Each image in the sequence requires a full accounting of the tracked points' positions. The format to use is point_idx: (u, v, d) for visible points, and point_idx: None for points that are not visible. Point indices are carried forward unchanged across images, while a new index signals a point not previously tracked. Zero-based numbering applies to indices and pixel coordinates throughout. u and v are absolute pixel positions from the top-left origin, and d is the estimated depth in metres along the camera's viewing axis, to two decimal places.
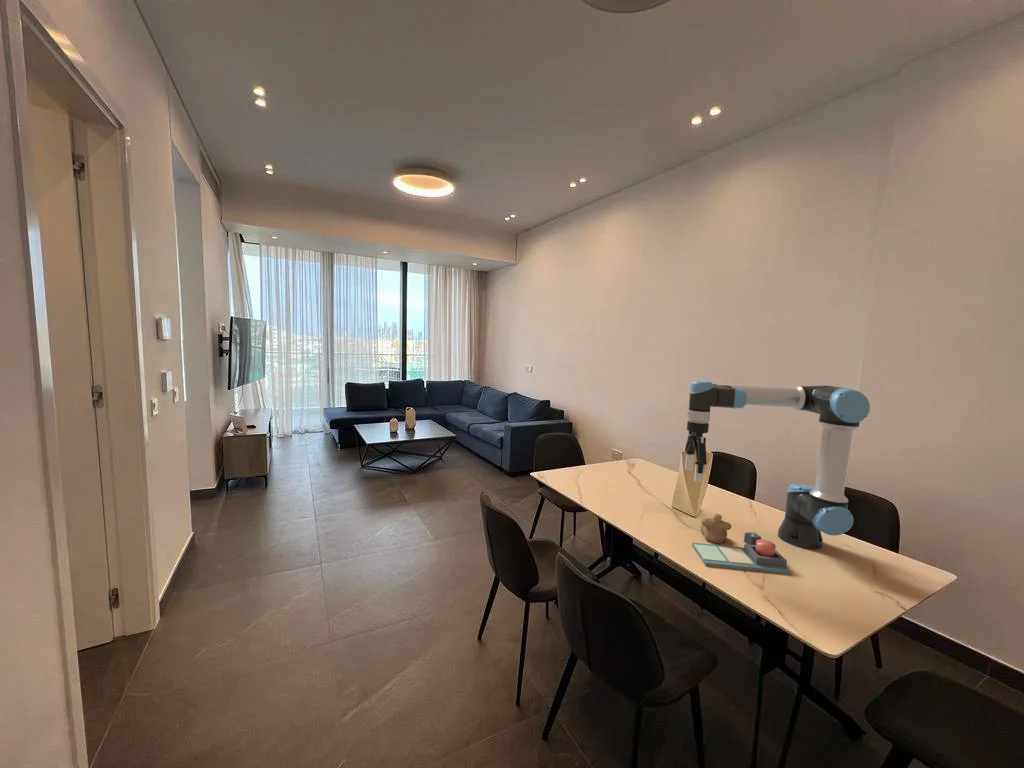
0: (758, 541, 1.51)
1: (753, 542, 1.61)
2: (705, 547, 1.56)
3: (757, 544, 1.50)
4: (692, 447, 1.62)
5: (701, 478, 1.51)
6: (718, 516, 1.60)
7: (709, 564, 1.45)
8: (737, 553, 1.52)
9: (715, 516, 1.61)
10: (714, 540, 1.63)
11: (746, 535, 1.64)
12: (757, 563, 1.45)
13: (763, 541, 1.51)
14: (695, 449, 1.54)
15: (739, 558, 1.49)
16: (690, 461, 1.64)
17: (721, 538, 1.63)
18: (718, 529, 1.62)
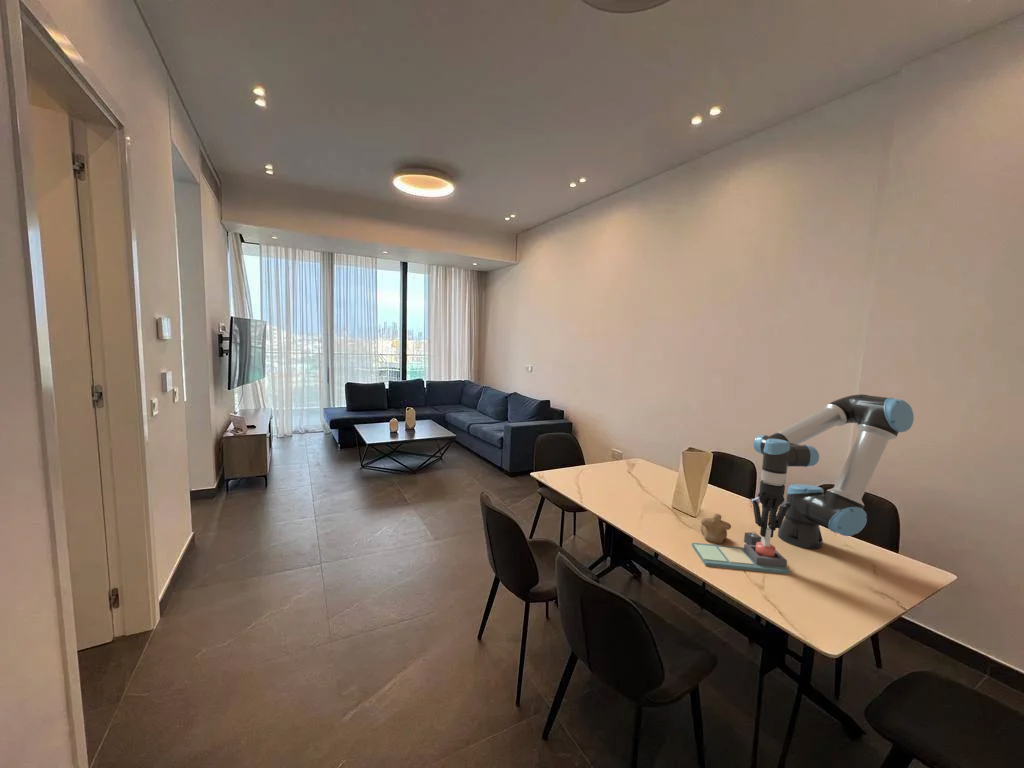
0: (758, 543, 1.51)
1: (753, 542, 1.61)
2: (705, 547, 1.56)
3: (757, 546, 1.50)
4: (770, 515, 1.48)
5: (764, 542, 1.49)
6: (718, 516, 1.60)
7: (709, 564, 1.45)
8: (737, 553, 1.52)
9: (715, 516, 1.61)
10: (714, 540, 1.63)
11: (746, 535, 1.64)
12: (757, 563, 1.45)
13: None
14: None
15: (739, 558, 1.49)
16: None
17: (721, 538, 1.63)
18: (717, 528, 1.62)
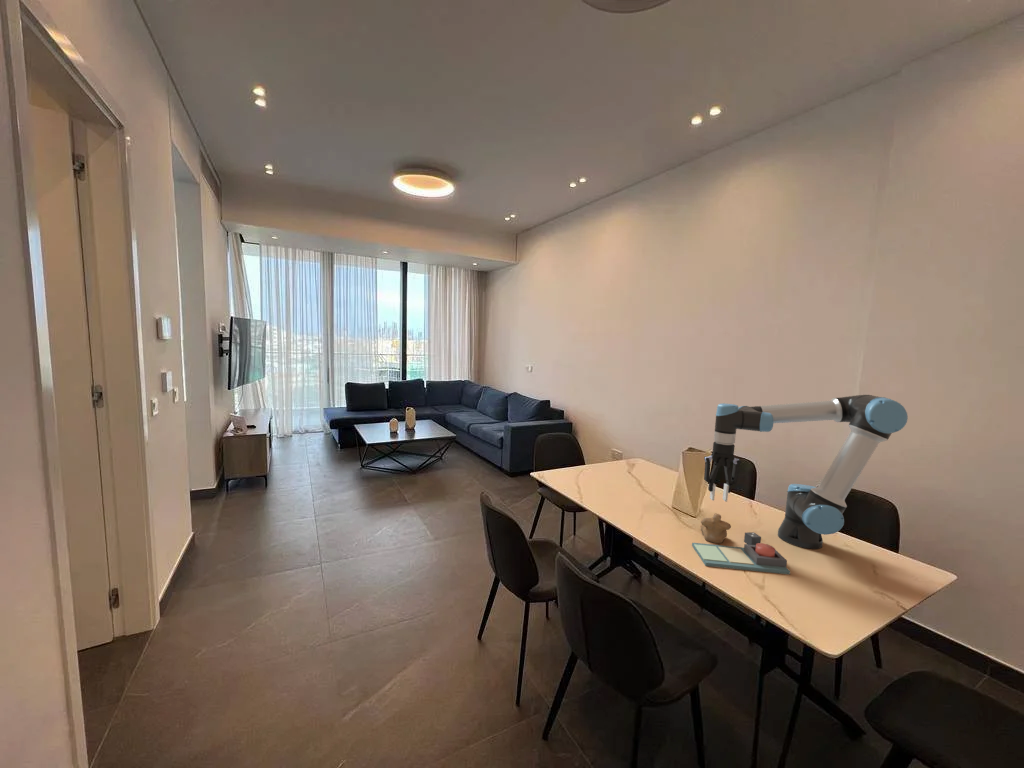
0: (758, 545, 1.51)
1: (753, 542, 1.61)
2: (705, 547, 1.56)
3: (757, 548, 1.50)
4: (726, 473, 1.63)
5: (712, 496, 1.64)
6: (717, 516, 1.60)
7: (709, 564, 1.45)
8: (737, 553, 1.52)
9: (714, 516, 1.61)
10: (713, 540, 1.63)
11: (746, 535, 1.64)
12: (757, 563, 1.45)
13: (763, 545, 1.51)
14: None
15: (739, 558, 1.49)
16: (725, 491, 1.64)
17: (720, 538, 1.63)
18: (717, 528, 1.62)
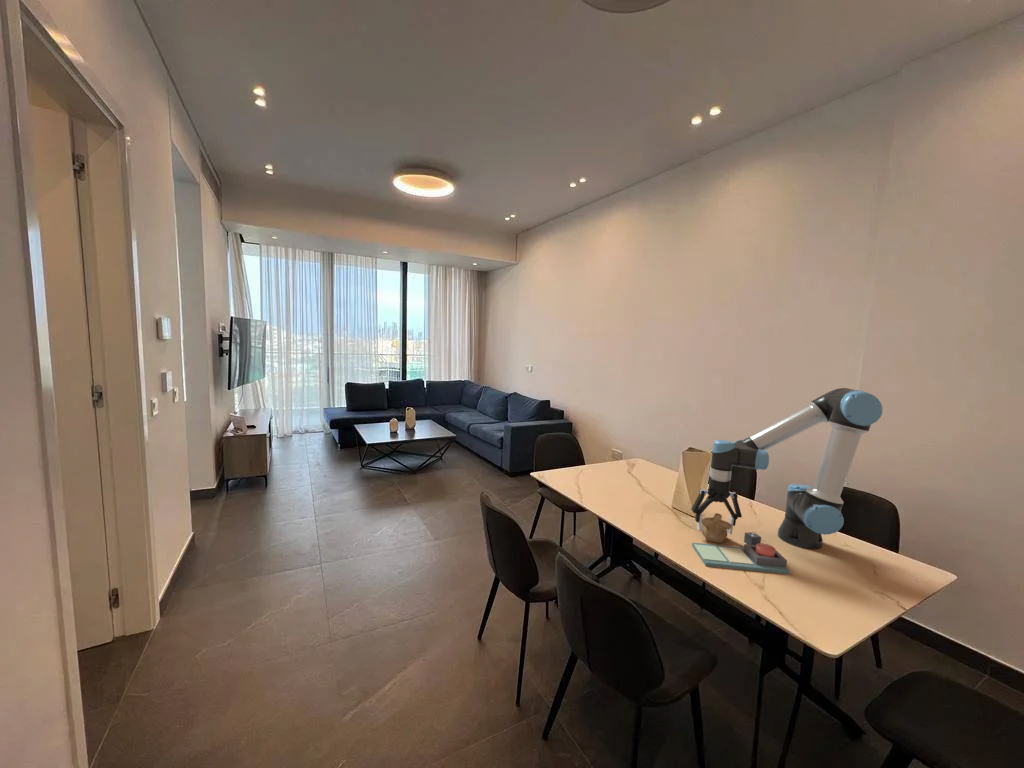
0: (758, 545, 1.51)
1: (753, 542, 1.61)
2: (705, 547, 1.56)
3: (757, 548, 1.50)
4: (727, 507, 1.64)
5: (698, 527, 1.66)
6: (718, 516, 1.60)
7: (709, 564, 1.45)
8: (737, 553, 1.52)
9: (715, 516, 1.61)
10: (714, 540, 1.63)
11: (746, 535, 1.64)
12: (757, 563, 1.45)
13: (763, 545, 1.51)
14: None
15: (739, 558, 1.49)
16: None
17: (721, 538, 1.63)
18: (718, 528, 1.62)
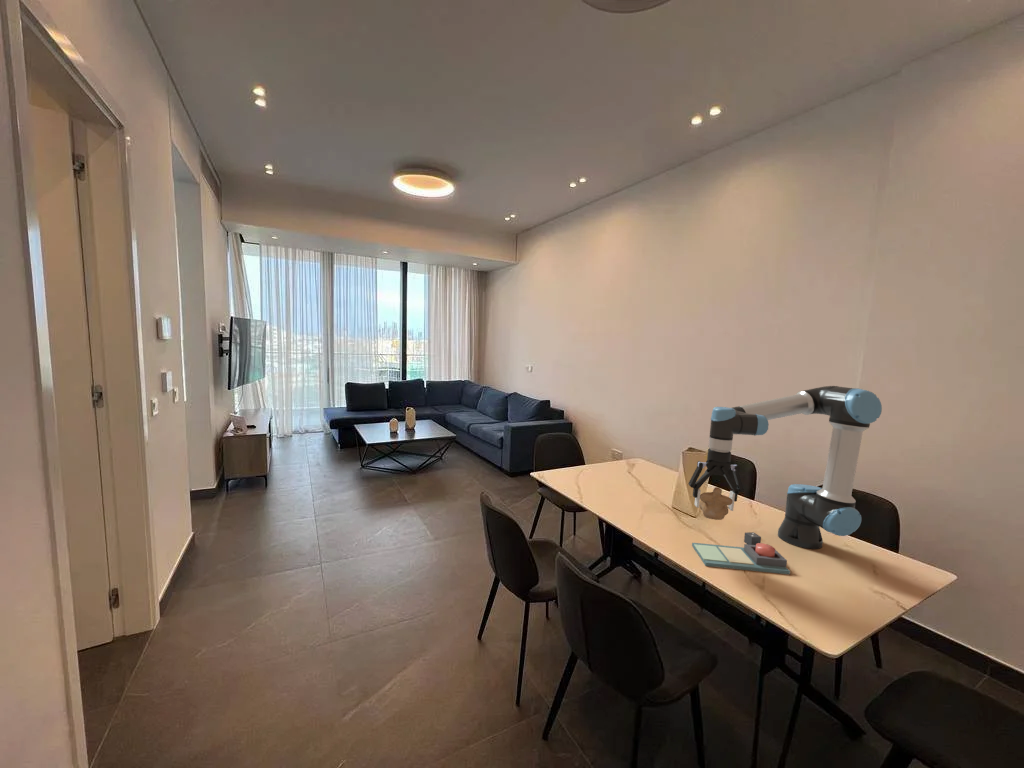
0: (758, 545, 1.51)
1: (753, 542, 1.61)
2: (705, 547, 1.56)
3: (757, 548, 1.50)
4: (728, 481, 1.49)
5: (696, 503, 1.51)
6: (718, 490, 1.45)
7: (709, 564, 1.45)
8: (737, 553, 1.52)
9: (714, 490, 1.46)
10: (713, 517, 1.48)
11: (746, 535, 1.64)
12: (757, 563, 1.45)
13: (763, 545, 1.51)
14: None
15: (739, 558, 1.49)
16: None
17: (721, 514, 1.48)
18: (717, 504, 1.47)
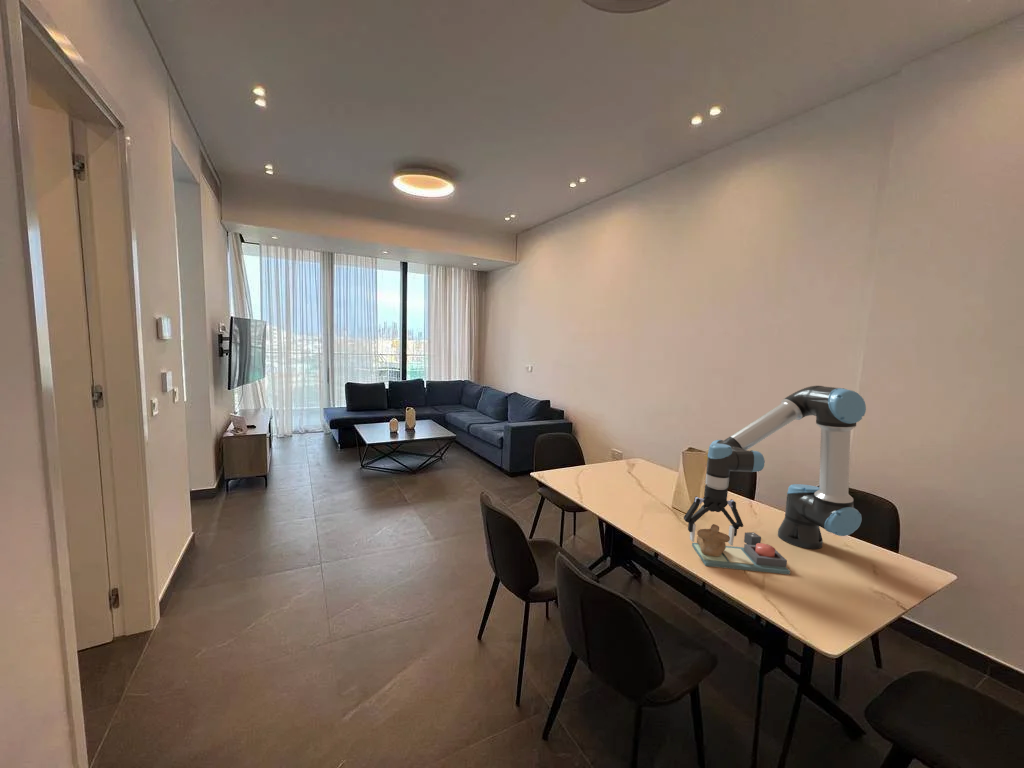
0: (758, 545, 1.51)
1: (753, 542, 1.61)
2: None
3: (757, 548, 1.50)
4: None
5: (691, 537, 1.51)
6: (715, 527, 1.46)
7: (709, 564, 1.45)
8: (737, 553, 1.52)
9: (712, 527, 1.47)
10: (711, 553, 1.49)
11: (746, 535, 1.64)
12: (757, 563, 1.45)
13: (763, 545, 1.51)
14: None
15: (739, 558, 1.49)
16: (730, 534, 1.50)
17: (719, 551, 1.48)
18: (715, 541, 1.48)
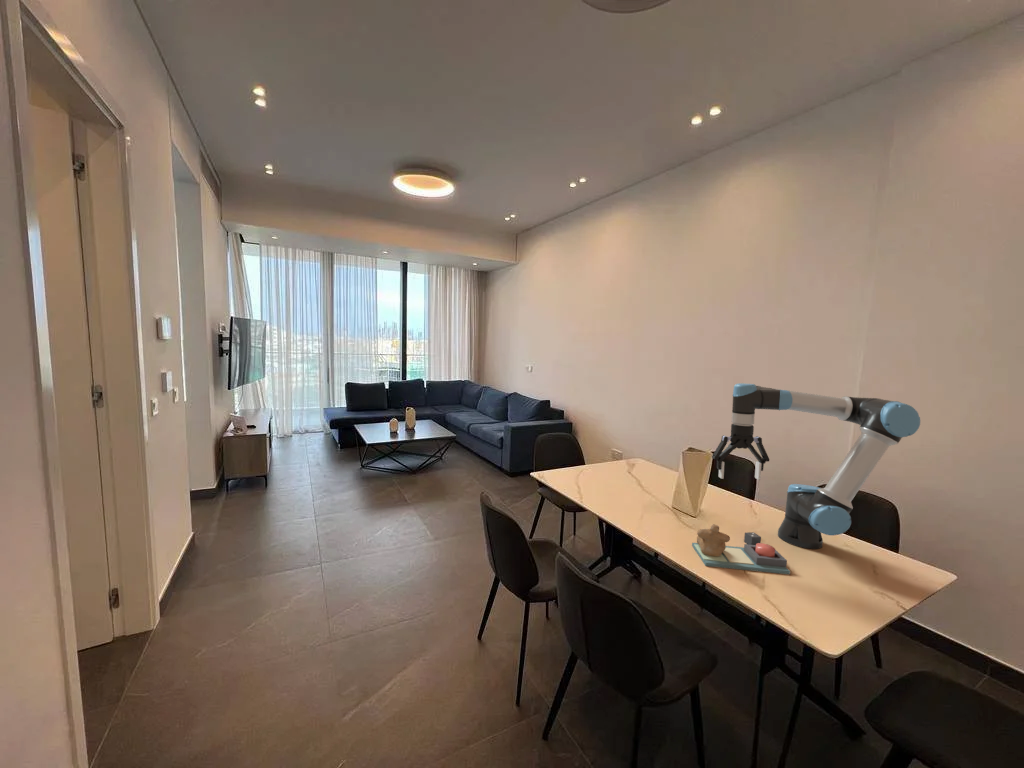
0: (758, 545, 1.51)
1: (753, 542, 1.61)
2: None
3: (757, 548, 1.50)
4: (753, 453, 1.57)
5: (721, 475, 1.58)
6: (715, 527, 1.46)
7: (709, 564, 1.45)
8: (737, 553, 1.52)
9: (712, 527, 1.47)
10: (711, 553, 1.49)
11: (746, 535, 1.64)
12: (757, 563, 1.45)
13: (763, 545, 1.51)
14: None
15: (739, 558, 1.49)
16: (757, 469, 1.57)
17: (719, 551, 1.48)
18: (715, 541, 1.48)
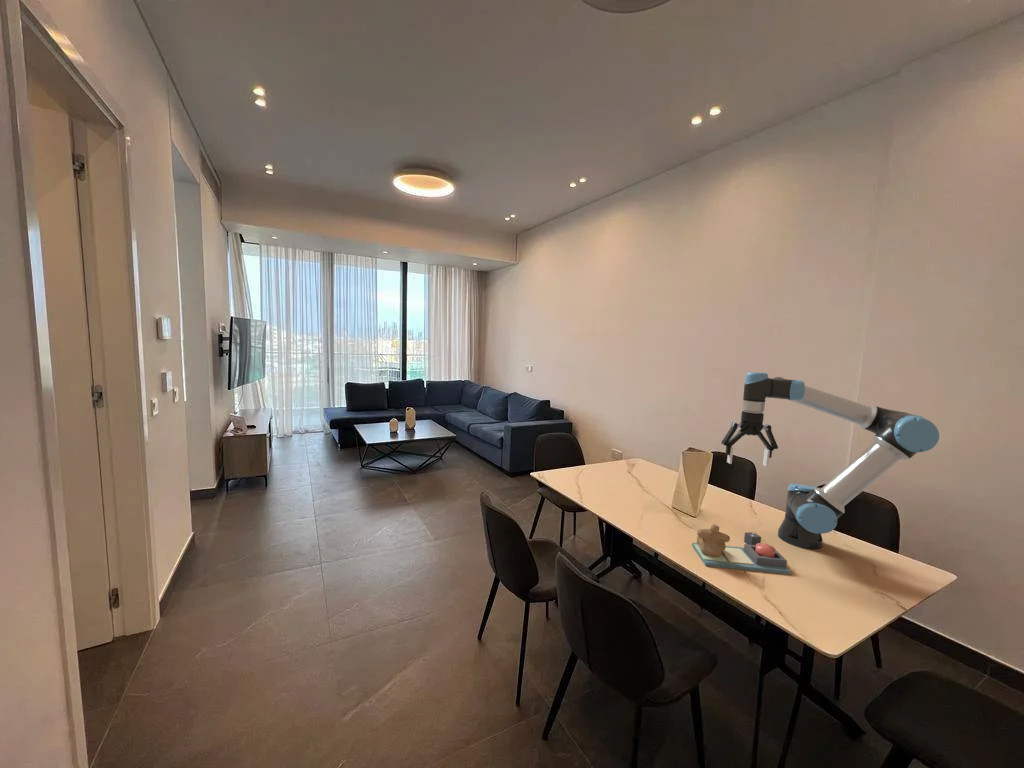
0: (758, 545, 1.51)
1: (753, 542, 1.61)
2: None
3: (757, 548, 1.50)
4: (762, 440, 1.61)
5: (729, 460, 1.63)
6: (715, 527, 1.46)
7: (709, 564, 1.45)
8: (737, 553, 1.52)
9: (712, 527, 1.47)
10: (711, 553, 1.49)
11: (746, 535, 1.64)
12: (757, 563, 1.45)
13: (763, 545, 1.51)
14: None
15: (739, 558, 1.49)
16: (765, 456, 1.62)
17: (719, 551, 1.48)
18: (715, 541, 1.48)
